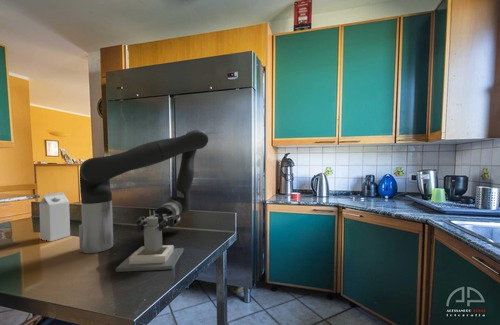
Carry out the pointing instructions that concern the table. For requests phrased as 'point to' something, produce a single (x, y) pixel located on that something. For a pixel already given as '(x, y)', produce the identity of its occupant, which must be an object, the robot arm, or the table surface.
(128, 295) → the table surface
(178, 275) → the table surface
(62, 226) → the milk carton
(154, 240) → the power adapter
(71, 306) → the table surface
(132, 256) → the docking plate
